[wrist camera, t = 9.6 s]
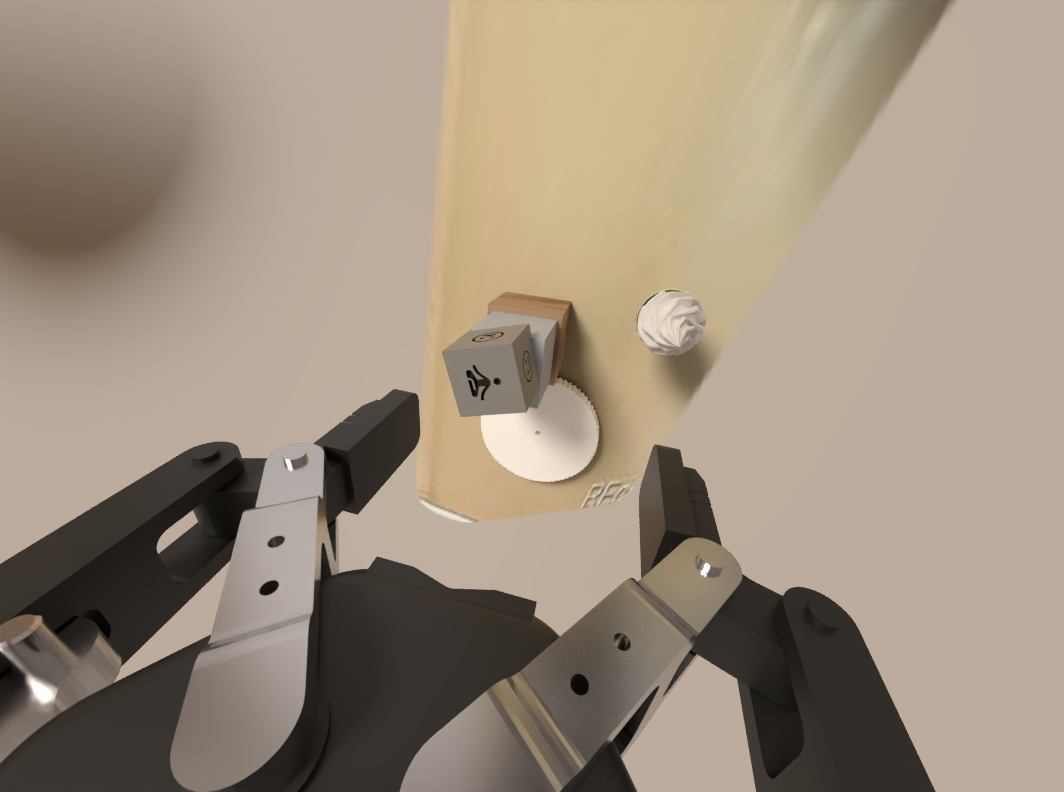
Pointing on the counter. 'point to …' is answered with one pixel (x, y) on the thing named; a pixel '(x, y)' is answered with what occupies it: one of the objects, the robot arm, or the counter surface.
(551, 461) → the plastic lid
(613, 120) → the counter surface
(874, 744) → the robot arm
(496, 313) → the tower top
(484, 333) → the dice cube
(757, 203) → the counter surface
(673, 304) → the ice cream cone
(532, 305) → the tower base
